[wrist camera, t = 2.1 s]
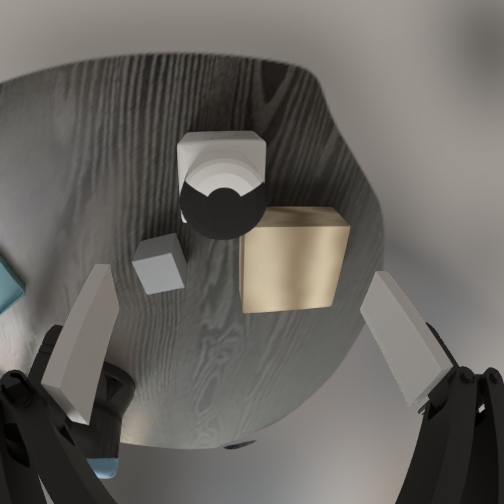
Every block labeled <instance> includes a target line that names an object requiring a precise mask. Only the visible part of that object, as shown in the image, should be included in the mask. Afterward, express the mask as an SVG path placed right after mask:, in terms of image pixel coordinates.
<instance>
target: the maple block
mask: <svg viewBox="0 0 504 504" xmlns="http://www.w3.org/2000/svg"><path fill="white" fill-rule="evenodd" d="M349 231H350V225H349V224H348V223H347V222H346V221H345V220H344V219H343V218H342V217H341V216H340V215H339V214H338V212H337V211H336V210H335V209H334V208H333V207H266V210H265V213H264V215H263V217H262V219H261V220H260V222H259V223H258V224H257V225H256V226H255V227H254V228H253V229H252V230H251V231H250V232H248V233H246V234H245V235H243V236H240V248H239V289H240V296H241V303H242V310H243V313H255V312H271V311H284V310H296V309H308V308H318V307H328V306H331V305H332V301H333V298H334V294H335V290H336V286H337V283H338V279H339V275H340V271H341V267H342V262H343V258H344V254H345V249H346V245H347V241H348V236H349Z"/></svg>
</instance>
